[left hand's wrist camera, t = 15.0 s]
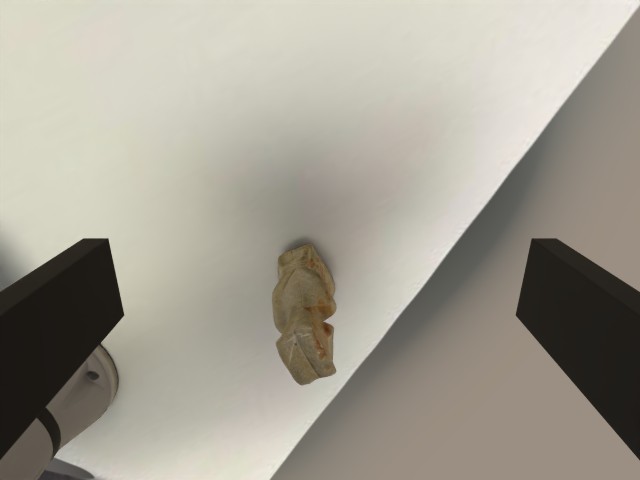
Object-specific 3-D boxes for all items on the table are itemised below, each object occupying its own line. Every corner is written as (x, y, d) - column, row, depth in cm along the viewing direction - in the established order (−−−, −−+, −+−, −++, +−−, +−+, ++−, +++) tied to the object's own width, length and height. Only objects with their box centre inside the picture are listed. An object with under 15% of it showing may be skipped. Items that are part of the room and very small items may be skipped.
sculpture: (294, 302, 45) (282, 400, 31) (270, 248, 43) (246, 326, 29) (342, 287, 44) (353, 380, 30) (321, 230, 42) (321, 303, 28)
